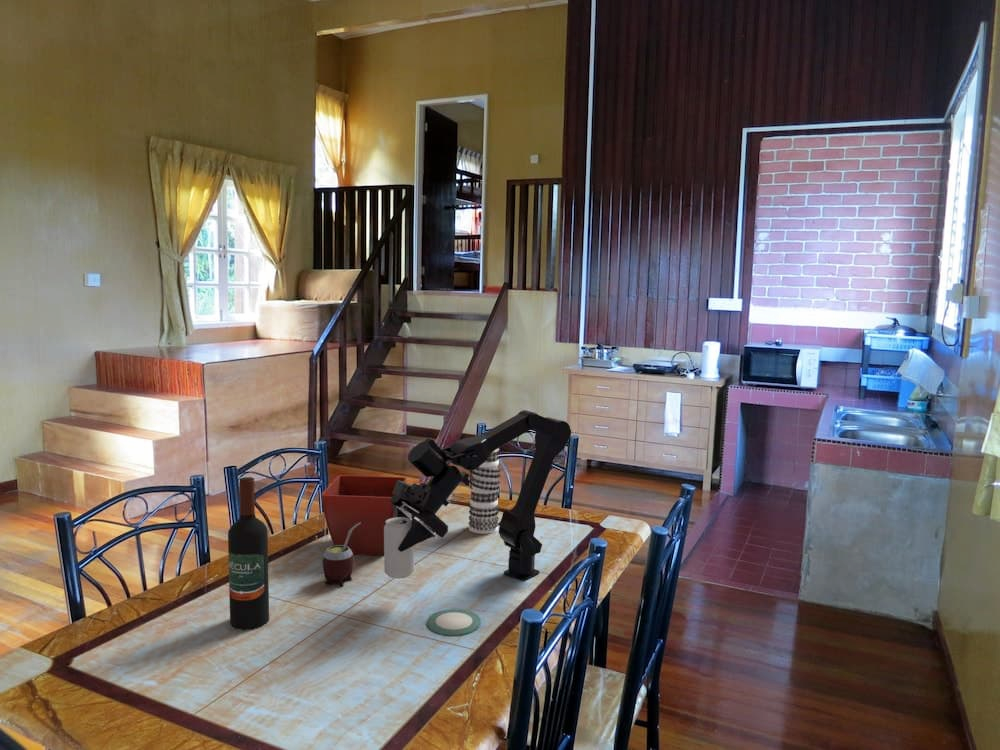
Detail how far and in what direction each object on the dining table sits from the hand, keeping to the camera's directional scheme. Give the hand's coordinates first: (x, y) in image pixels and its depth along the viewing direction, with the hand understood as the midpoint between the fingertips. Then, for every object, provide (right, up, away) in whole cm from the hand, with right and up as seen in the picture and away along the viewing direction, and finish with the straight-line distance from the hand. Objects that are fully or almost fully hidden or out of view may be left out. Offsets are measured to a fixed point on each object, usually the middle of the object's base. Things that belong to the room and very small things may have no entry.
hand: (393, 545), depth 155 cm
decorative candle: (+18, -8, +52) cm, 56 cm away
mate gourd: (-14, -12, +13) cm, 23 cm away
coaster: (+14, -14, -6) cm, 21 cm away
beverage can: (+1, -7, +2) cm, 7 cm away
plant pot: (-13, -9, +36) cm, 39 cm away
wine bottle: (-28, -14, -8) cm, 32 cm away
